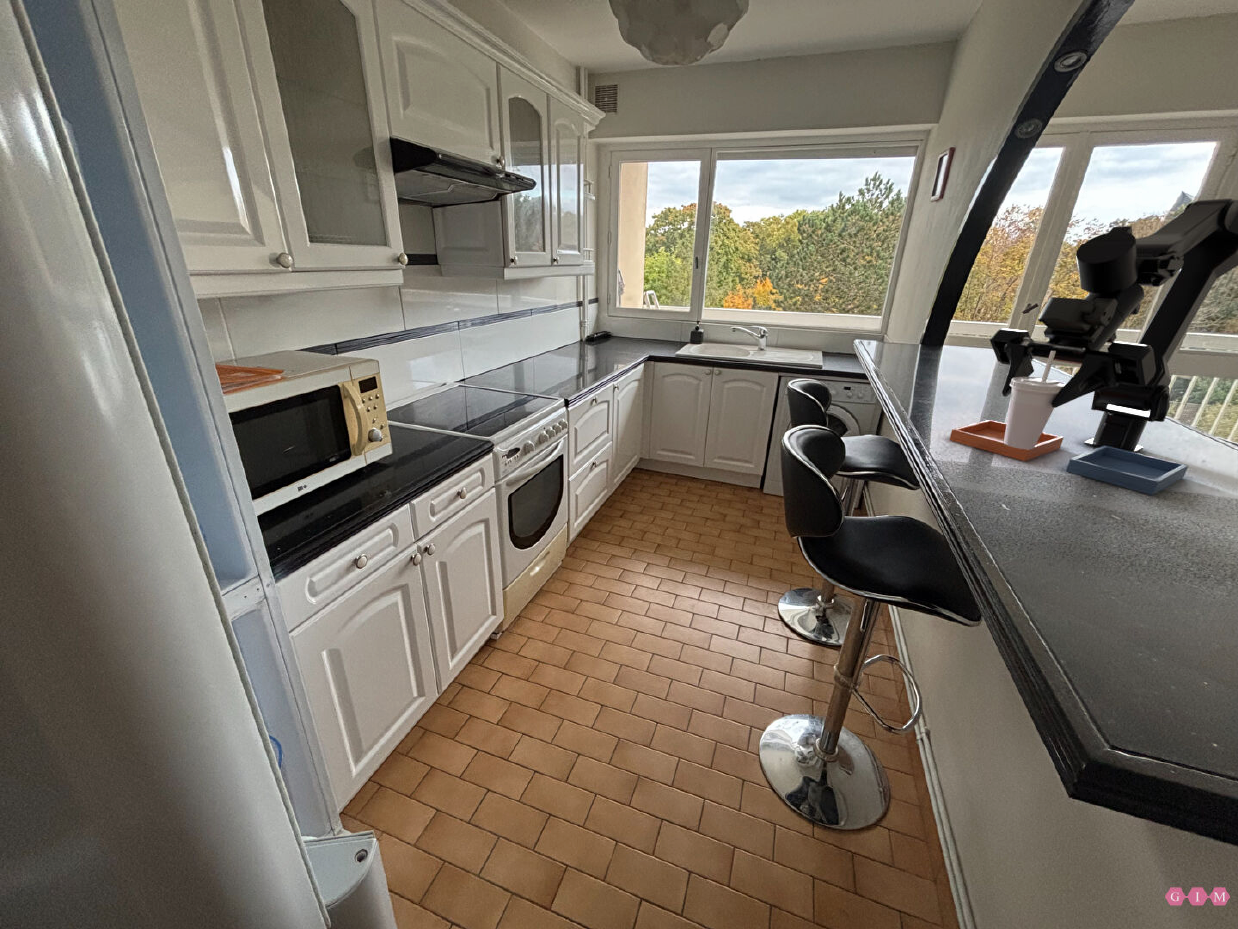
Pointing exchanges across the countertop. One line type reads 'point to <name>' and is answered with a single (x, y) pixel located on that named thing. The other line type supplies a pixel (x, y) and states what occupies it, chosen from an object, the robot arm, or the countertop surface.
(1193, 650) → the countertop surface
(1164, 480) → the blue tray
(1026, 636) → the countertop surface
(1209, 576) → the countertop surface
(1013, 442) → the smoothie
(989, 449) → the orange tray
